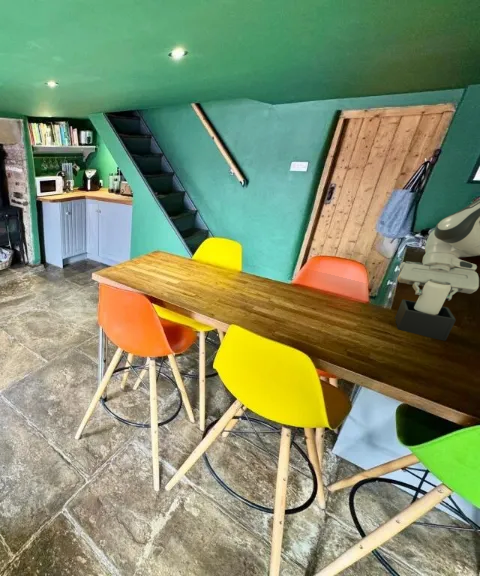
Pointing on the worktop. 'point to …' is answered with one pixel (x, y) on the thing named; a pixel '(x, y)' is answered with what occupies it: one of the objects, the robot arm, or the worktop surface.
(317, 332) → the worktop surface
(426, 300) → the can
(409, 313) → the bin
